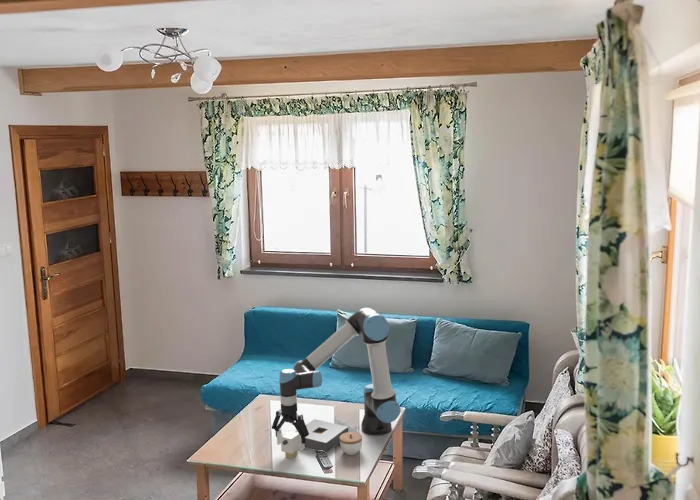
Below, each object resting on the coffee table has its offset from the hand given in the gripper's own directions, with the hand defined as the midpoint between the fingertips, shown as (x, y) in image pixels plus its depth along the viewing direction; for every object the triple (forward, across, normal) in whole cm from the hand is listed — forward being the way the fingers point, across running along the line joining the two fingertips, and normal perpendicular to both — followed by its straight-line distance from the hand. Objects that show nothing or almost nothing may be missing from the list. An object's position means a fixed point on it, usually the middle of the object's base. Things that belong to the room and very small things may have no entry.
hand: (290, 446), depth 323 cm
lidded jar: (+5, -23, -16) cm, 28 cm away
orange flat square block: (+2, -3, -20) cm, 20 cm away
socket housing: (+5, -3, -20) cm, 21 cm away
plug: (+5, 0, 0) cm, 5 cm away
